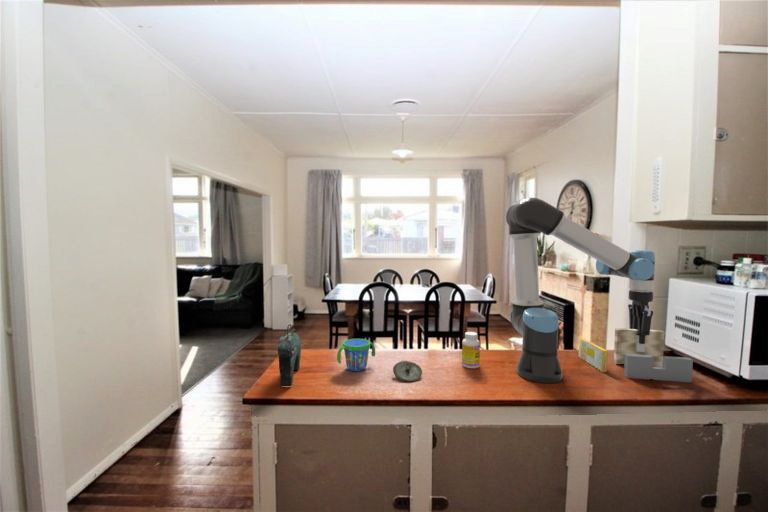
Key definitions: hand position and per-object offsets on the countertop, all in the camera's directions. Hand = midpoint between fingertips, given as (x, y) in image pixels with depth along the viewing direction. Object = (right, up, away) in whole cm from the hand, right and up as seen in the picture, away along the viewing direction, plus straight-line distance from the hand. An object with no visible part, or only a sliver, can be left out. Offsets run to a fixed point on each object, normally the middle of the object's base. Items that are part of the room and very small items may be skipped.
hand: (638, 350), depth 133 cm
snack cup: (-110, -7, -2) cm, 110 cm away
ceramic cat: (-133, -7, -11) cm, 134 cm away
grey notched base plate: (-3, -7, -12) cm, 14 cm away
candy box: (-17, -6, +2) cm, 18 cm away
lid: (-91, -7, -10) cm, 91 cm away
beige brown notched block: (0, -6, 0) cm, 6 cm away
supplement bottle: (-65, -6, 0) cm, 66 cm away
